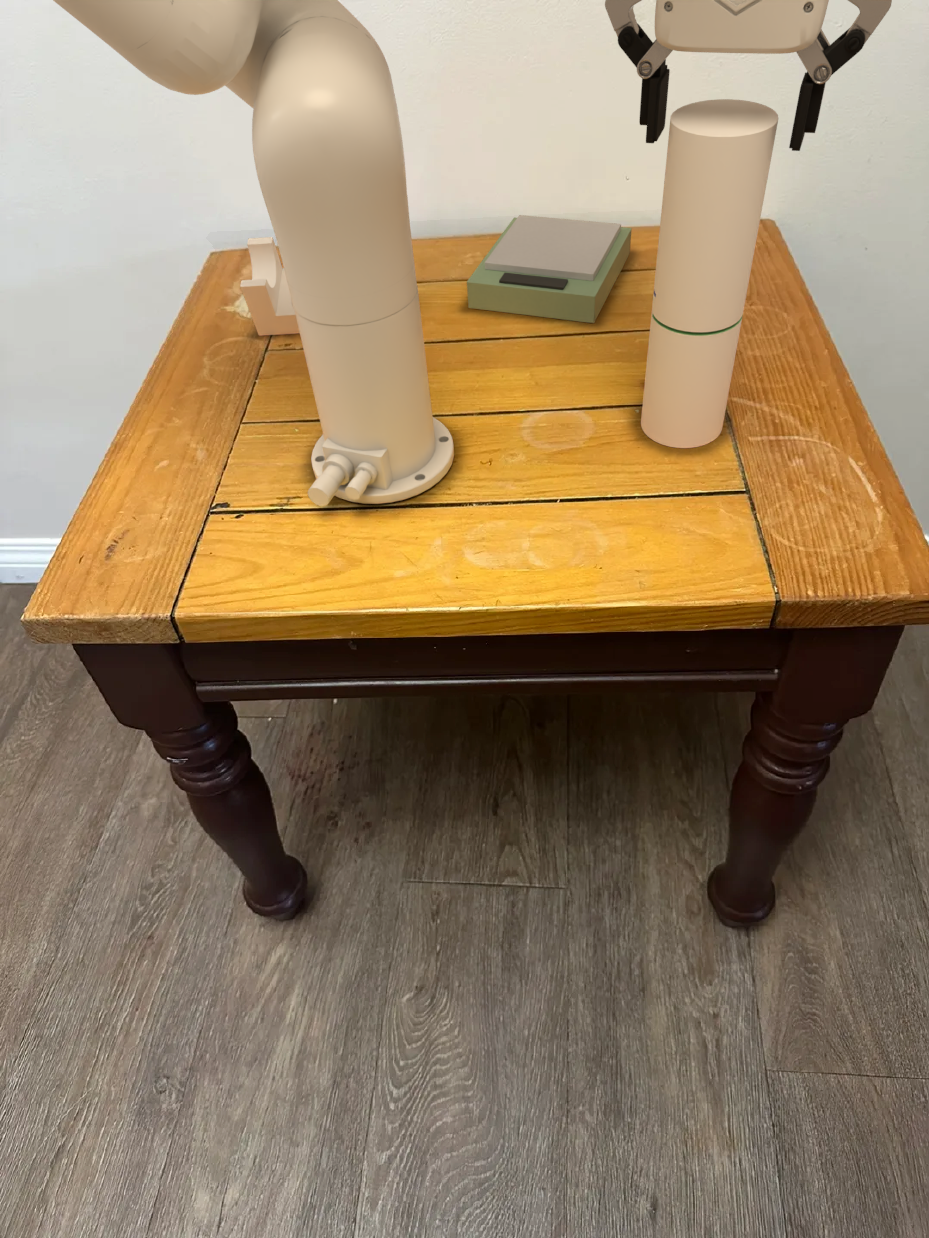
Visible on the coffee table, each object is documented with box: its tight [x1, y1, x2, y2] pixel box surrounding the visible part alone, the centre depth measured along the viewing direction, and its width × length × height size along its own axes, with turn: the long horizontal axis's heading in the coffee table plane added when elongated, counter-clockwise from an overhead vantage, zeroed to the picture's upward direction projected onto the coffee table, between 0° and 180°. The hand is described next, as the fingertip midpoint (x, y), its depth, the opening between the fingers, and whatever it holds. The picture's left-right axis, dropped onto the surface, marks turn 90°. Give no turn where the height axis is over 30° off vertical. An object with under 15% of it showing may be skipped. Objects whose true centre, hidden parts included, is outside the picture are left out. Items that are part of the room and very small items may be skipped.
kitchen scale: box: [466, 214, 633, 324], centre depth 95 cm, size 16×14×4 cm
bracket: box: [239, 236, 300, 336], centre depth 92 cm, size 13×7×8 cm, turn 89°
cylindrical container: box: [640, 98, 779, 449], centre depth 68 cm, size 7×7×25 cm
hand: (724, 139), depth 60 cm, fingers open, 9 cm apart
